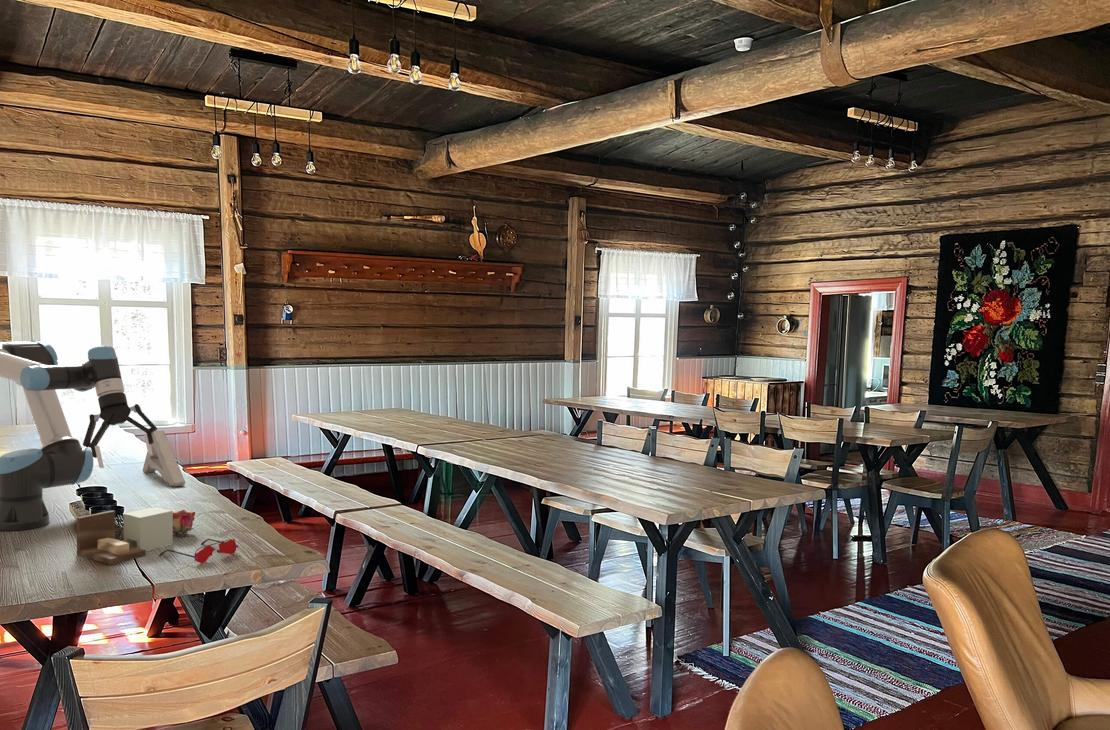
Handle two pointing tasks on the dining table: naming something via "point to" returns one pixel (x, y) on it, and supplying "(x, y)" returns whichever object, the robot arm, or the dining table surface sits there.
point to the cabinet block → (148, 528)
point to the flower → (183, 522)
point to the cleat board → (99, 532)
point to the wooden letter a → (163, 460)
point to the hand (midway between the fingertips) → (126, 461)
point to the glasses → (211, 550)
